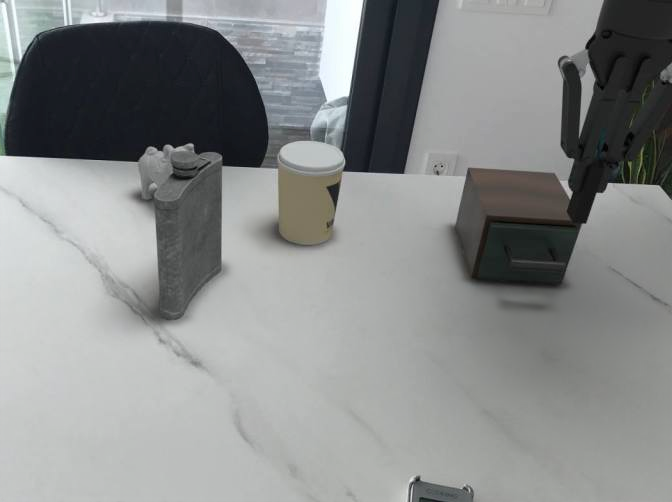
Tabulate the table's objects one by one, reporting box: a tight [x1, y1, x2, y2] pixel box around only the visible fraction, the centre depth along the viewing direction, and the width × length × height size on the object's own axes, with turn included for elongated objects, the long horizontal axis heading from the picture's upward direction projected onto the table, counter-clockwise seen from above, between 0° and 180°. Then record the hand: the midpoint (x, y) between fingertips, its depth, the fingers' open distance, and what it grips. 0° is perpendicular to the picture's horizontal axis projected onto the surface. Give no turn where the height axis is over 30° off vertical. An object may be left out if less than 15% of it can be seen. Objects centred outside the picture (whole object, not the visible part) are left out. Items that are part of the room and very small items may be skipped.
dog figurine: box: [137, 143, 195, 201], centre depth 114 cm, size 5×13×11 cm, turn 44°
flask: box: [153, 151, 223, 321], centre depth 94 cm, size 4×14×18 cm, turn 160°
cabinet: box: [454, 167, 583, 285], centre depth 109 cm, size 15×13×10 cm
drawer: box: [477, 221, 580, 284], centre depth 105 cm, size 18×11×8 cm, turn 179°
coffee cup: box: [276, 140, 346, 246], centre depth 109 cm, size 9×9×12 cm
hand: (576, 217), depth 86 cm, fingers closed
